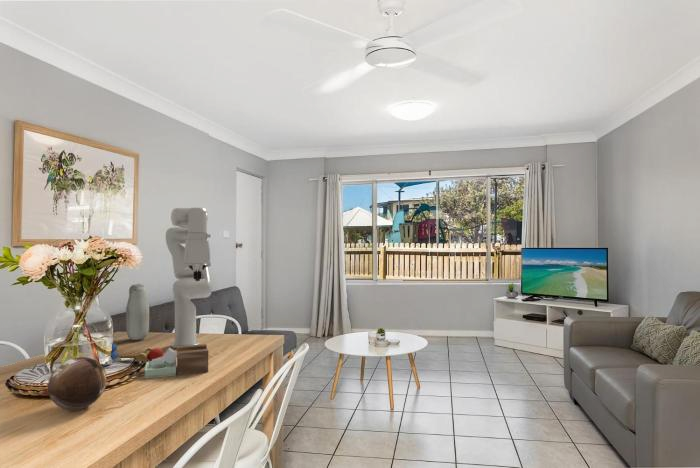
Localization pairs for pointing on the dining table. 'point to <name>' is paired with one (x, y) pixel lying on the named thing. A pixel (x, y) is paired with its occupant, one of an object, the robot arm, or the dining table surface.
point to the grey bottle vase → (137, 313)
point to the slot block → (192, 359)
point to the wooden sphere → (77, 383)
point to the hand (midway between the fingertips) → (197, 280)
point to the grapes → (113, 353)
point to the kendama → (145, 355)
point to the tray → (160, 370)
